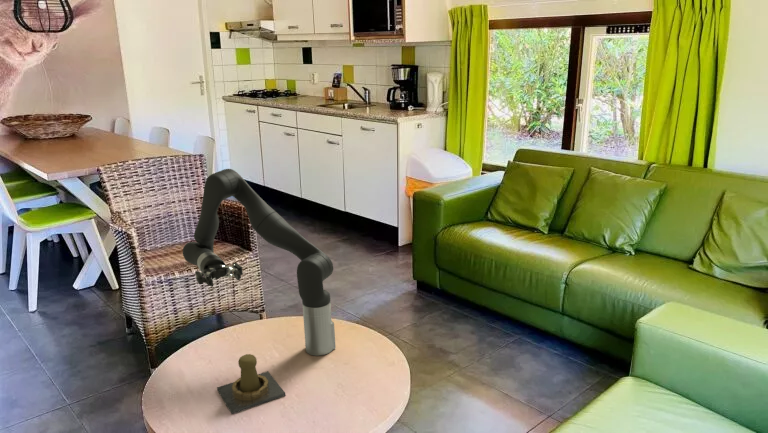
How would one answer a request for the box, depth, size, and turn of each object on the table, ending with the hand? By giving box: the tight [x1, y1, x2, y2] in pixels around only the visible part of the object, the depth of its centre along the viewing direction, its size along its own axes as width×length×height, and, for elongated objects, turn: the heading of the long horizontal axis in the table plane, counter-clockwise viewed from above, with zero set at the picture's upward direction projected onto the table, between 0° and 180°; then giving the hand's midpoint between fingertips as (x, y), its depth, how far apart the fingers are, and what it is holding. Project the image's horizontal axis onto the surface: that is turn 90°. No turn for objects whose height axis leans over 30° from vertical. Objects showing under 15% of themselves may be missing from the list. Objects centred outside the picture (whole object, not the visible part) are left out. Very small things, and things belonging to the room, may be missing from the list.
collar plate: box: [216, 371, 286, 415], centre depth 170 cm, size 16×14×3 cm
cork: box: [237, 353, 261, 392], centre depth 169 cm, size 6×6×11 cm
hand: (225, 280), depth 181 cm, fingers open, 8 cm apart
